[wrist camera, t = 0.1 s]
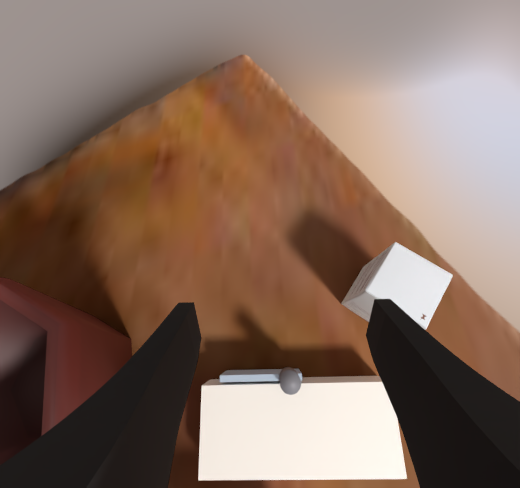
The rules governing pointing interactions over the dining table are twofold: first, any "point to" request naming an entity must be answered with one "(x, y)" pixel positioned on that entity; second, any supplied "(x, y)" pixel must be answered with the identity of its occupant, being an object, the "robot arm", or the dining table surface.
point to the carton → (299, 431)
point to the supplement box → (399, 284)
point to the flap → (267, 377)
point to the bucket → (49, 362)
